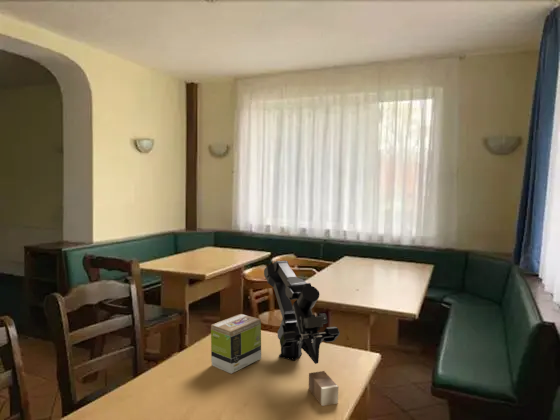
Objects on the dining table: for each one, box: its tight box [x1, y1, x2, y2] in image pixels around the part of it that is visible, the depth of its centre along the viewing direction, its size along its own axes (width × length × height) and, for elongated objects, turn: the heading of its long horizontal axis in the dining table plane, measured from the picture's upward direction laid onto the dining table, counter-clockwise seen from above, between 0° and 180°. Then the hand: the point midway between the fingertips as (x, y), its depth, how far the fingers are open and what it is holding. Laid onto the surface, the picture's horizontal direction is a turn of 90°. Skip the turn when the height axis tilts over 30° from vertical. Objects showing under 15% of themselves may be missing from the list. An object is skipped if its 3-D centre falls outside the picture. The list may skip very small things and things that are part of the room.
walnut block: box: [308, 370, 339, 407], centre depth 127 cm, size 5×5×10 cm
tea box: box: [210, 313, 262, 374], centre depth 147 cm, size 15×10×15 cm, turn 141°
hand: (316, 363), depth 131 cm, fingers closed
